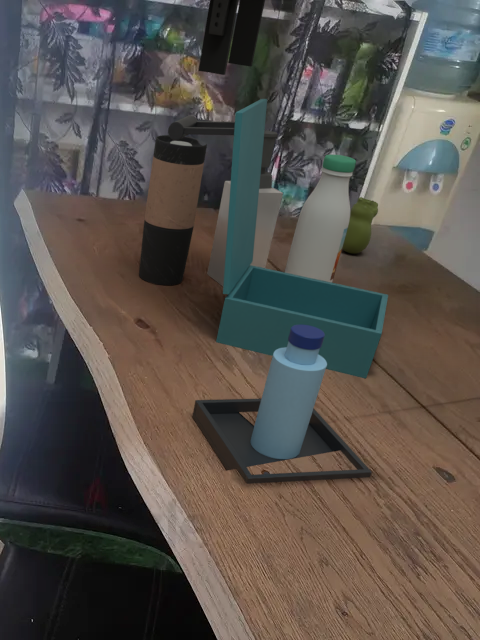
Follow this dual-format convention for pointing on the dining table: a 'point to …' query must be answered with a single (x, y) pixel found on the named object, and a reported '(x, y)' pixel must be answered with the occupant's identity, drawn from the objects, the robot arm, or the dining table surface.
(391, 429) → the dining table surface
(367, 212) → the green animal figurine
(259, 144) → the lid
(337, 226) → the milk bottle
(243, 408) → the tray
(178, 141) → the travel mug
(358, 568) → the dining table surface
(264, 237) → the soap dispenser
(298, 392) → the water bottle
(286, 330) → the teal box
